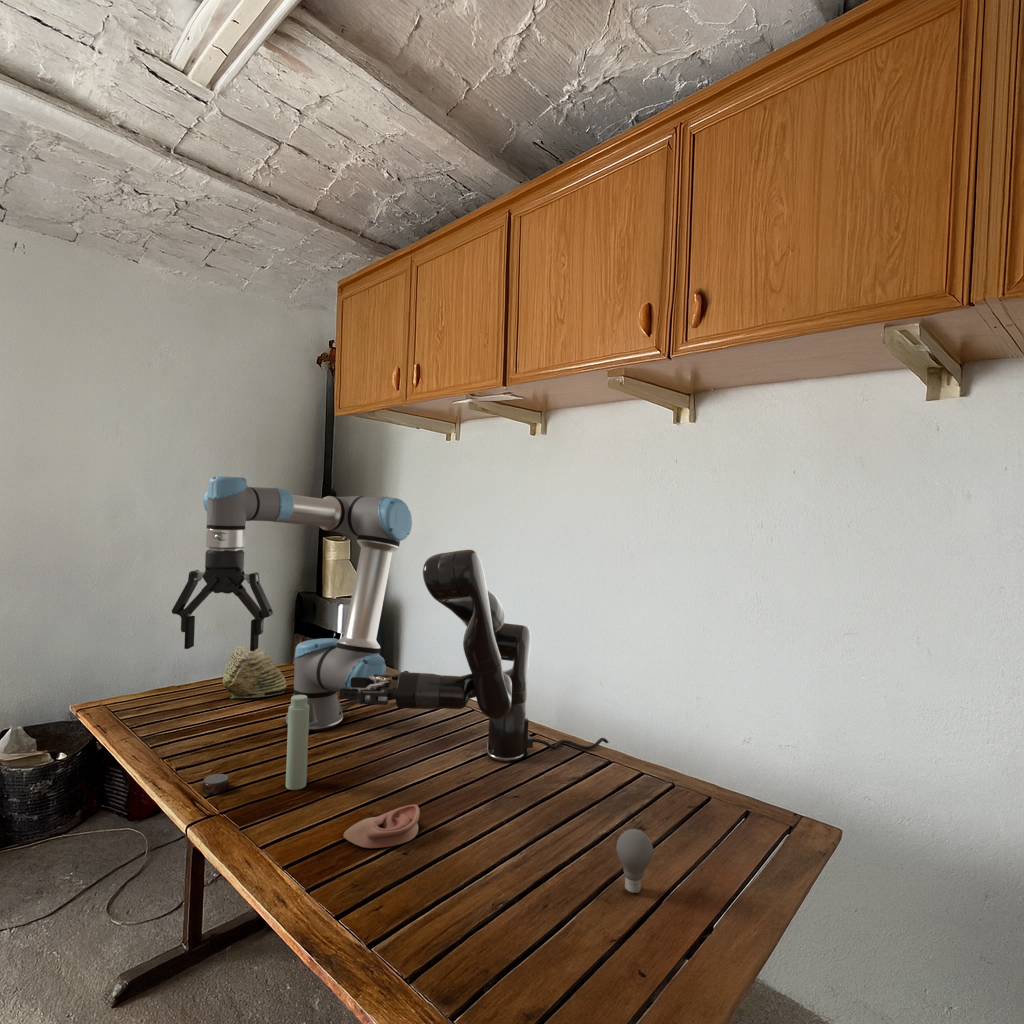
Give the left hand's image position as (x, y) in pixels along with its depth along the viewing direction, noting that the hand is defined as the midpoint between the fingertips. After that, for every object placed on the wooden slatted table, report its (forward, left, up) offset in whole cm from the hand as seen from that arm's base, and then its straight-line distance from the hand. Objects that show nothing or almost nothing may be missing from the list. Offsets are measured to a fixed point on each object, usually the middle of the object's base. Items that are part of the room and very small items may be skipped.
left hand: (221, 648), depth 135 cm
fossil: (-38, -53, -30) cm, 72 cm away
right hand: (-19, +18, -8) cm, 27 cm away
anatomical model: (-12, +40, -30) cm, 51 cm away
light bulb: (-29, +84, -30) cm, 93 cm away
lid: (0, 0, -28) cm, 28 cm away
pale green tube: (-12, +10, -30) cm, 34 cm away
